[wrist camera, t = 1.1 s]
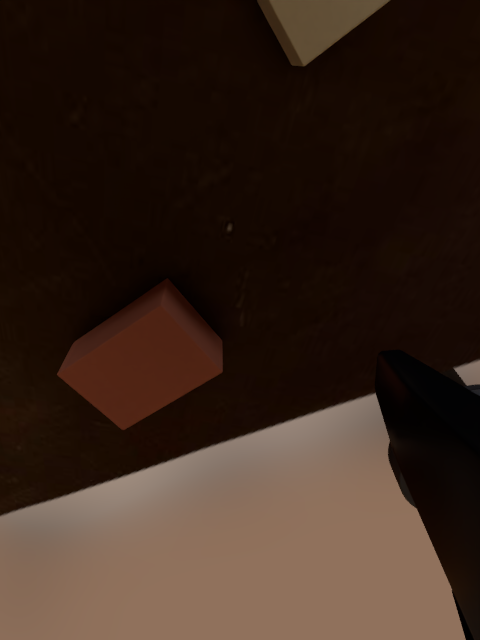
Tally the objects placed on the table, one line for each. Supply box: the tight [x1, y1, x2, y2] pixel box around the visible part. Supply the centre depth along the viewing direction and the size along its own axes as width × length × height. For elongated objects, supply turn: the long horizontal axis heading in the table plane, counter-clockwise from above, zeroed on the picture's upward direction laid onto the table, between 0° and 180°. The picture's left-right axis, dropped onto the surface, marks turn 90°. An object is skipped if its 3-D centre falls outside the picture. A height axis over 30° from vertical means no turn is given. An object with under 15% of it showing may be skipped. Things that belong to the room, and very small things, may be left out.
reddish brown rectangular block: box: [57, 278, 223, 430], centre depth 24 cm, size 7×5×3 cm
